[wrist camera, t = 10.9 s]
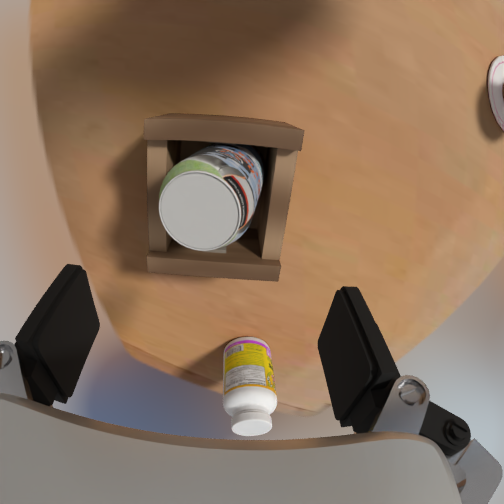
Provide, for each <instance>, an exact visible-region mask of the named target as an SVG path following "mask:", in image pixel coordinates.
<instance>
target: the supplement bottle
mask: <svg viewBox="0 0 504 504" xmlns="http://www.w3.org/2000/svg"><path fill="white" fill-rule="evenodd" d="M276 406H277V396H276V389H275V381H274V374H273V366H272V359H271V353H270V348H269V346H268V345H267V344H266V343H265V342H264V341H263V340H261V339H258V338H255V337H240V338H237V339H234V340H232V341H231V342H230V343H228V344H227V346H226V347H225V349H224V355H223V407H224V409H225V411H226V412H227V413H228V414H229V415H230V416H232V420H231V427H232V431H233V432H234V433H236V434H238V435H243V436H256V435H261V434H264V433H266V432H268V431H270V429H271V428H272V419H271V417H270V415H269V414H271V413H272V412H273V411H274V410H275V408H276Z"/></svg>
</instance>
